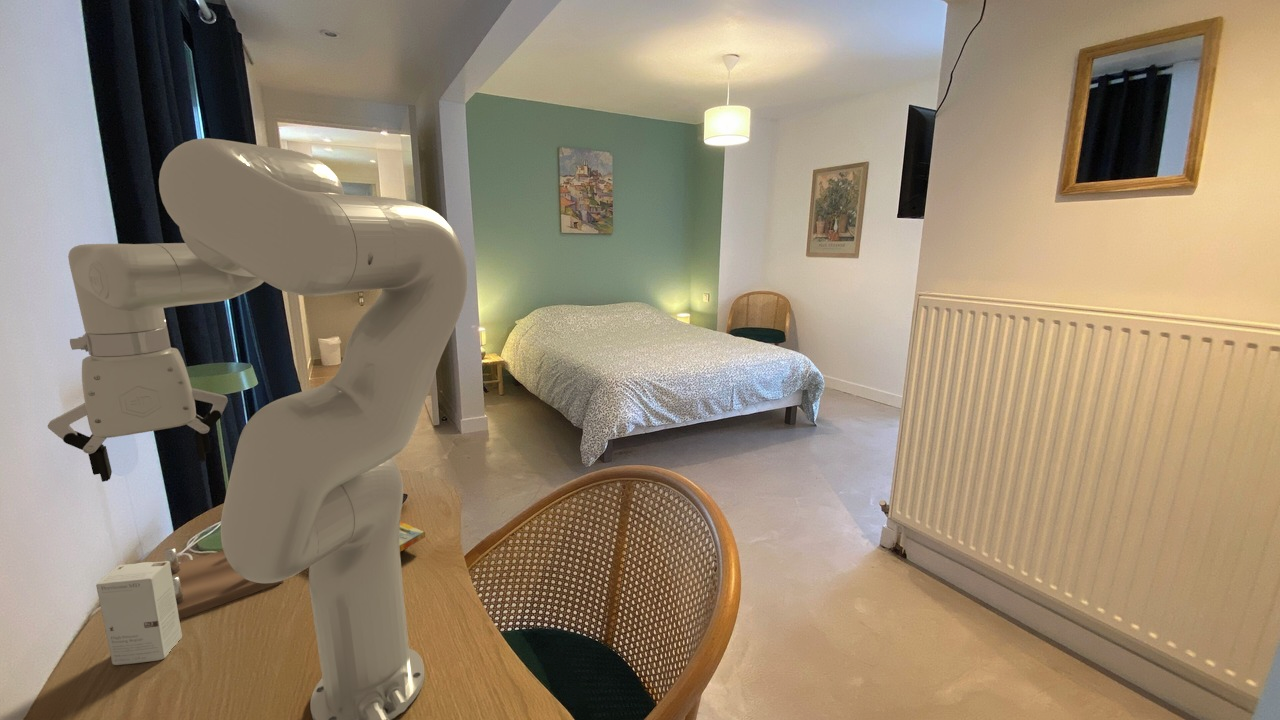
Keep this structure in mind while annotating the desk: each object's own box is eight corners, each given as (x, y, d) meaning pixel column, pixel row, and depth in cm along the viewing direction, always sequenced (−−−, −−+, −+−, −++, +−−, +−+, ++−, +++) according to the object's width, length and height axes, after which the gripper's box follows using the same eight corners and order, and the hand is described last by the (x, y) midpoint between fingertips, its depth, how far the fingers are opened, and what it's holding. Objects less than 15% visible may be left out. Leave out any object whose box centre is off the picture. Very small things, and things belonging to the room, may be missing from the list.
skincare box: (111, 667, 69) (90, 586, 66) (134, 641, 73) (115, 564, 70) (167, 659, 70) (148, 579, 67) (186, 635, 75) (170, 558, 72)
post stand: (283, 582, 86) (278, 552, 85) (149, 629, 75) (142, 596, 74) (268, 544, 96) (263, 516, 95) (148, 581, 85) (141, 551, 84)
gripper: (22, 358, 59) (59, 497, 64) (218, 340, 70) (238, 460, 74) (35, 346, 65) (68, 475, 69) (215, 331, 76) (234, 443, 80)
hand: (156, 467), depth 72 cm, fingers open, 9 cm apart
